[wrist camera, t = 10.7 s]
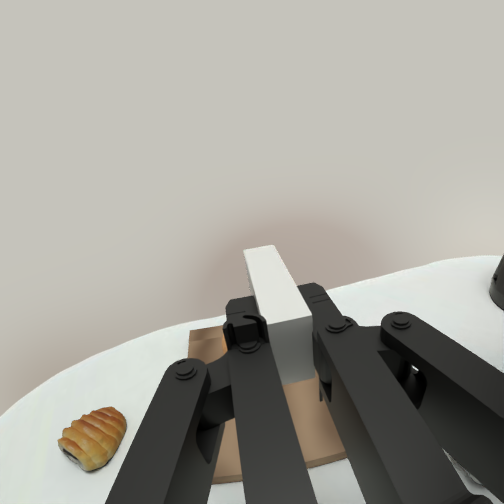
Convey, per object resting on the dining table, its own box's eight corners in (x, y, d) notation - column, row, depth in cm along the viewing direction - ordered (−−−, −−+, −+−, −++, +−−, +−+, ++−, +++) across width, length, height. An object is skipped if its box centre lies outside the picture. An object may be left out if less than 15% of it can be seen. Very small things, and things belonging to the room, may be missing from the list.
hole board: (317, 315, 49) (317, 307, 48) (389, 442, 24) (392, 434, 24) (192, 338, 47) (189, 330, 47) (187, 485, 23) (182, 479, 23)
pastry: (104, 409, 34) (92, 389, 32) (142, 426, 31) (130, 405, 30) (61, 455, 26) (45, 436, 24) (98, 480, 23) (80, 462, 22)
